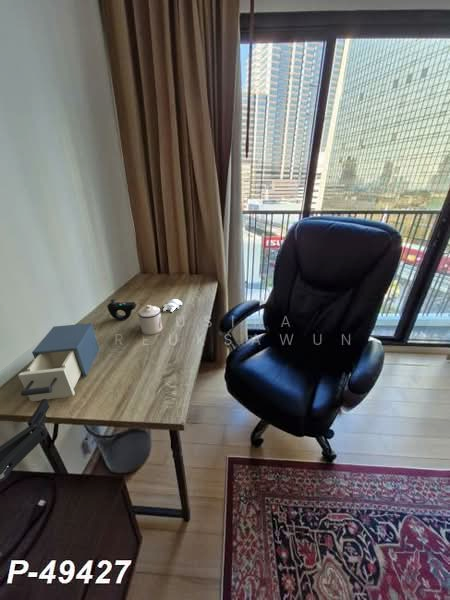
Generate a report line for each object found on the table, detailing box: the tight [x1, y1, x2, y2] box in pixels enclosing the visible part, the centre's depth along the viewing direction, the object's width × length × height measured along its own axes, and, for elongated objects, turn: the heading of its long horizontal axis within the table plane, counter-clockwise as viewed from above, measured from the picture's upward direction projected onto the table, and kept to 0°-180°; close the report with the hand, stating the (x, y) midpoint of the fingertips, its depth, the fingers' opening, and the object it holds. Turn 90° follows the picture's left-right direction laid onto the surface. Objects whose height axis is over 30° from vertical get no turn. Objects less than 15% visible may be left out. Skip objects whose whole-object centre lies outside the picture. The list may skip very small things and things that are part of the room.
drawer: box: [18, 350, 82, 402], centre depth 75 cm, size 19×12×10 cm, turn 9°
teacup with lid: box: [137, 304, 163, 336], centre depth 107 cm, size 12×9×12 cm
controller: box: [106, 298, 137, 321], centre depth 114 cm, size 4×12×10 cm, turn 96°
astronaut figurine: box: [162, 298, 183, 313], centre depth 126 cm, size 9×12×3 cm
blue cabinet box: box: [31, 322, 100, 378], centre depth 86 cm, size 15×13×12 cm
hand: (14, 406), depth 58 cm, fingers open, 13 cm apart
